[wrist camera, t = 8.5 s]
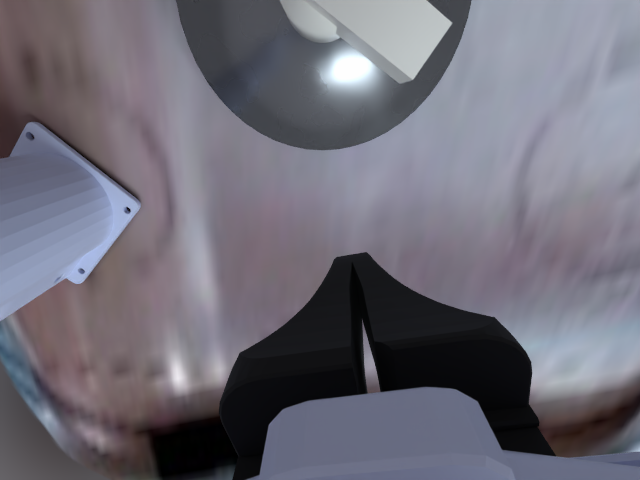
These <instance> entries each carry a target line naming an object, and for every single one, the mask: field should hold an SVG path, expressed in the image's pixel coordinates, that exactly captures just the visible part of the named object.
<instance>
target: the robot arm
mask: <svg viewBox="0 0 640 480" xmlns="http://www.w3.org/2000/svg"><path fill="white" fill-rule="evenodd" d="M31 133H32V134H33V135H34V139H33V137H32V135H31ZM127 207H128V208H130V210H131V212H129V211H128V210H127ZM140 207H141V204H140V202H139V201H138V199H136V198H135V197H134V196H133V195H131V194H130V193H129V192H127V191H126V190H125V189H124V188H122V187H121V186H120V185H118V184H117V183H116V182H115V181H113V180H112V179H111V178H109V177H108V176H107V175H106V174H104V173H103V172H102V171H101V170H99V169H98V168H97V167H95V166H94V165H93V164H92V163H90V162H89V161H88V160H86V159H85V158H84V157H83V156H81V155H80V154H79V153H78V152H76V151H75V150H74V149H72V148H71V147H70V146H69V145H67V144H66V143H65V142H63V141H62V140H61V139H60V138H58V137H57V136H56V135H54V134H53V133H52V132H51V131H49V130H48V129H47V128H46V127H44V126H43V125H42V124H40V123H38V122H29V123H27V124H26V126H25V128H24V130H23V132H22V133H21V135H20V137H19V139H18V141H17V143H16V145H15V147H14V148H13V150H12V152H11V154H10V156H9V157H7V158H1V159H0V321H1V320H3V319H4V318H6V317H7V316H9V315H10V314H12V313H13V312H15V311H16V310H18V309H19V308H21V307H22V306H24V305H25V304H27V303H29V302H30V301H32V300H33V299H35V298H36V297H38V296H39V295H41V294H42V293H44V292H45V291H47V290H48V289H50V288H51V287H53V286H54V285H56V284H57V283H59V282H60V281H62V280H63V279H65V278H67V279H68V280H70V281H72V282H73V283H75V284H80V283H82V282H83V281H84V280H85V279H86V278H87V277H88V275H89V274H90V273H91V271H92V270H93V269H94V267H95V266H96V265H97V264H98V262H99V261H100V260H101V258H102V257H103V256H104V254H105V253H106V252H107V251H108V249H109V248H110V247H111V245H112V244H113V243H114V242H115V240H116V239H117V238H118V236H119V235H120V234H121V232H122V231H123V230H124V229H125V227H126V226H127V225H128V223H129V222H130V221H131V219H132V218H133V217H134V216H135V214H136V213H137V212H138V210H139V209H140ZM82 269H83V270H84V271H83V270H82ZM362 320H363V323H364V327H365V330H366V334H367V337H368V341H369V344H370V348H371V352H372V355H373V359H374V362H375V366H376V370H377V374H378V380H379V385H380V391H381V392H377V393H369V394H368V393H367V386H366V379H365V369H364V351H363V329H362ZM531 378H532V366H531V361H530V359H529V357H528V355H527V353H526V351H525V350H524V349H523V348H522V346H521V345H520V344H519V343H518V341H517V340H516V339H515V338H514V337H513V336H512V335H511V333H510V332H509V331H508V330H507V329H506V328H505V327H504V326H503V325H502V324H501V323H500V322H499V321H498V320H497V319H496V318H495V317H490V316H486V315H481V314H477V313H472V312H468V311H464V310H460V309H457V308H454V307H451V306H448V305H445V304H442V303H439V302H437V301H434V300H432V299H430V298H427V297H425V296H423V295H421V294H419V293H417V292H415V291H413V290H411V289H410V288H408V287H406V286H404V285H403V284H401V283H400V282H399V281H397V280H396V279H394V278H393V277H392V276H391V275H389V274H388V273H387V272H386V271H385V270H384V269H383V268H381V267H380V266H379V265H378V264H377V263H376V262H375V261H374V260H373V258H372V257H371V256H370V255H369V254H368V253H367V252H365V253H359V254H353V255H347V256H341V257H336V258H335V259H334V261H333V264H332V266H331V268H330V270H329V272H328V274H327V275H326V277H325V279H324V281H323V282H322V284H321V285H320V287H319V288H318V290H317V291H316V293H315V294H314V295H313V297H312V298H311V299H310V301H309V302H308V303H307V304H306V305H305V306H304V307H303V308H302V309H301V310H300V311H299V312H298V313H297V314H296V315H295V316H294V317H293V318H291V319H290V320H289V321H288V322H287V323H286V324H285V325H283V326H282V327H281V328H279V329H278V330H277V331H275V332H274V333H272V334H271V335H269V336H268V337H266V338H265V339H263V340H262V341H260V342H258V343H256V344H255V345H253V346H251V347H250V348H248V349H246V350H244V351H242V352H240V354H239V356H238V358H237V360H236V362H235V364H234V366H233V368H232V371H231V373H230V376H229V378H228V381H227V384H226V387H225V389H224V392H223V395H222V398H221V401H220V406H219V415H220V418H221V421H222V424H223V426H224V428H225V430H226V432H227V434H228V436H229V438H230V440H231V442H232V444H233V446H234V448H235V450H236V452H237V454H238V460H237V464H236V468H235V472H234V476H233V480H640V452H630V453H619V454H608V455H597V456H586V457H574V458H563V457H556V455H555V454H554V452H553V450H552V449H551V447H550V446H549V444H548V443H547V441H546V440H545V438H544V437H543V435H542V434H541V432H540V430H539V429H538V427H537V426H539V420H538V417H537V416H536V414H535V413H534V411H533V410H532V408H531V407H530V405H529V396H530V387H531Z"/></svg>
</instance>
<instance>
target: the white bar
mask: <svg viewBox="0 0 640 480" xmlns="http://www.w3.org/2000/svg"><path fill="white" fill-rule="evenodd" d="M280 2H281V4H282V6H283V9H284V11H285V13H286V15H287V17H288V19H289V21H290V23H291V25H292V26H293V28H294V29H295V30H296V31H297V32H298V33H299V34H300V35H301V36H303V37H304V38H306V39H308V40H310V41H313V42H317V43H327V42H332V41H335V40H337V39H339V38H340V37H341V38H342V39H343V40H345V41H346V42H347V43H348V44H350V45H351V46H352V47H353V48H355V49H356V50H357V51H359V52H360V53H361V54H362V55H364V56H365V57H366V58H367V59H369V60H370V61H371V62H373V63H374V64H375V65H376V66H378V67H379V68H380V69H381V70H383V71H384V72H385V73H386V74H388V75H389V76H390V77H392V78H393V79H394V80H395V81H397V82H398V83H399V84H401V83H404V82H408V81H411V80H413V79H414V78H415V76H416V75H417V73H418V72H419V70H420V69H421V68H422V66H423V65H424V63H425V62H426V60H427V59H428V58H429V56H430V55H431V53H432V52H433V50H434V49H435V47H436V46H437V45H438V43H439V42H440V40H441V39H442V37H443V36H444V35H445V33H446V32H447V30H448V29H449V27H450V26H451V24H452V22H451V21H450V20H448V19H447V18H446V17H445V16H444V15H443V14H442V13H440V12H439V11H438V10H437V9H436V8H435V7H434V6H433V5H431V4H430V3H429V2H428V1H427V0H280Z"/></svg>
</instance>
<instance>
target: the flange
mask: <svg viewBox="0 0 640 480" xmlns="http://www.w3.org/2000/svg"><path fill="white" fill-rule="evenodd" d="M176 1H177V6H178V11H179V15H180V20H181V24H182V27H183V30H184V33H185V36H186V39H187V42H188V45H189V47H190V49H191V52H192V54H193V56H194V58H195V61H196V63H197V65H198V66H199V68H200V70H201V72H202V73H203V75H204V77H205V79H206V80H207V82H208V83H209V85H210V86H211V87H212V89H213V90H214V92H215V93H216V94H217V96H218V97H219V98H220V99H221V100H222V101H223V103H224V104H225V105H226V106H227V107H228V108H229V109H230V110H231V111H232V112H233V113H234V114H235V115H236V116H238V117H239V118H240V119H241V120H242V121H243V122H245V123H246V124H247V125H249V126H250V127H252V128H253V129H255V130H256V131H258V132H259V133H261V134H263V135H265V136H267V137H269V138H271V139H273V140H275V141H278V142H281V143H284V144H287V145H290V146H294V147H299V148H304V149H313V150H332V149H341V148H346V147H351V146H356V145H358V144H361V143H364V142H367V141H370V140H372V139H374V138H376V137H378V136H380V135H382V134H384V133H386V132H388V131H389V130H391V129H392V128H394V127H395V126H397V125H398V124H400V123H401V122H402V121H403V120H405V119H406V118H407V117H408V116H409V115H410V114H412V113H413V112H414V111H415V110H416V109H417V108H418V107H419V106H420V105H421V104H422V102H423V101H424V100H425V99H426V98H427V97H428V96H429V95H430V93H431V92H432V90H433V89H434V88H435V86H436V85H437V84H438V82H439V81H440V80H441V78H442V76H443V74H444V73H445V71H446V69H447V67H448V66H449V64H450V62H451V60H452V58H453V56H454V54H455V51H456V49H457V47H458V45H459V42H460V40H461V37H462V34H463V31H464V28H465V25H466V22H467V19H468V14H469V9H470V5H471V0H427V1H428V2H429V3H430V4H431V5H433V6H434V7H435V8H436V9H437V10H438V11H439V12H440V13H442V14H443V15H444V16H445V17H446V18H447V19H448V20H450V21H451V22H452V24H451V26H450V27H449V29H448V30H447V32H446V33H445V35H444V36H443V37H442V39H441V40H440V42H439V43H438V45H437V46H436V47H435V49H434V50H433V52H432V53H431V55H430V56H429V58H428V59H427V60H426V62H425V63H424V65H423V66H422V68H421V69H420V70H419V72H418V73H417V75H416V76H415V78H414V79H413V80H411V81H408V82H404V83H401V84H399V83H398V82H397V81H395V80H394V79H393V78H392V77H390V76H389V75H388V74H386V73H385V72H384V71H383V70H381V69H380V68H379V67H378V66H376V65H375V64H374V63H373V62H371V61H370V60H369V59H367V58H366V57H365V56H364V55H362V54H361V53H360V52H359V51H357V50H356V49H355V48H353V47H352V46H351V45H350V44H348V43H347V42H346V41H345V40H343V39H342V38H341V37H340V38H339V39H337V40H335V41H332V42H327V43H317V42H313V41H310V40H308V39H306V38H304V37H303V36H301V35H300V34H299V33H298V32H297V31H296V30H295V29H294V28H293V26H292V25H291V23H290V21H289V19H288V17H287V15H286V13H285V11H284V9H283V6H282V4H281V2H280V0H176Z"/></svg>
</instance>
